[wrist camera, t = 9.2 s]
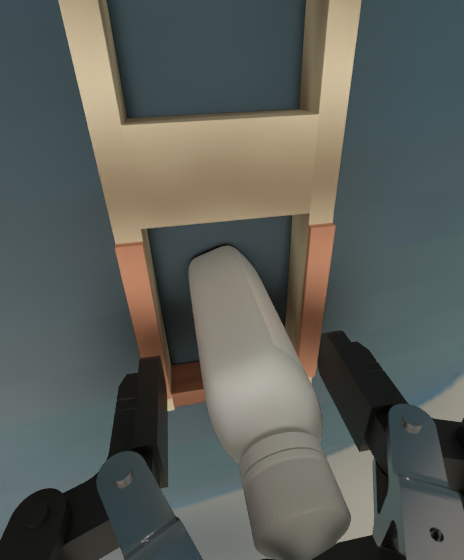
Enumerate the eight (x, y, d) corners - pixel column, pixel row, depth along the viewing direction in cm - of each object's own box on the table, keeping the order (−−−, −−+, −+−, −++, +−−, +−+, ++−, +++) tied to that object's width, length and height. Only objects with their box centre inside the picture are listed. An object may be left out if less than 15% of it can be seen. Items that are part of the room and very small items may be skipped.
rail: (-23, -440, 7) (-98, -643, 5) (371, -386, 8) (439, -535, 6) (156, 383, 19) (155, 417, 17) (298, 362, 20) (312, 392, 19)
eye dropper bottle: (282, 244, 16) (485, 531, 6) (260, 336, 19) (374, 638, 9) (189, 239, 15) (248, 570, 5) (181, 336, 18) (207, 675, 8)
